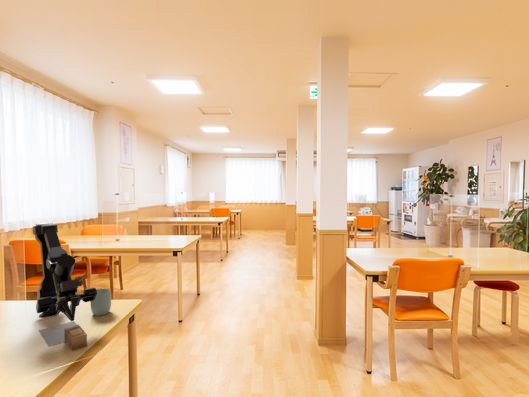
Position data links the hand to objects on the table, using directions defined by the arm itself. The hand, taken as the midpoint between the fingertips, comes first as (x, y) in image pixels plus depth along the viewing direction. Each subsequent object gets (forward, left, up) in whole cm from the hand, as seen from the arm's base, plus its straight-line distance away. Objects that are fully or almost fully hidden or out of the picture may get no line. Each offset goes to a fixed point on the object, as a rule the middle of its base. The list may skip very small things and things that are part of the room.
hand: (72, 320), depth 117 cm
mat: (-8, -6, -8) cm, 12 cm away
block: (-2, -1, -5) cm, 5 cm away
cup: (-25, +3, -8) cm, 26 cm away
